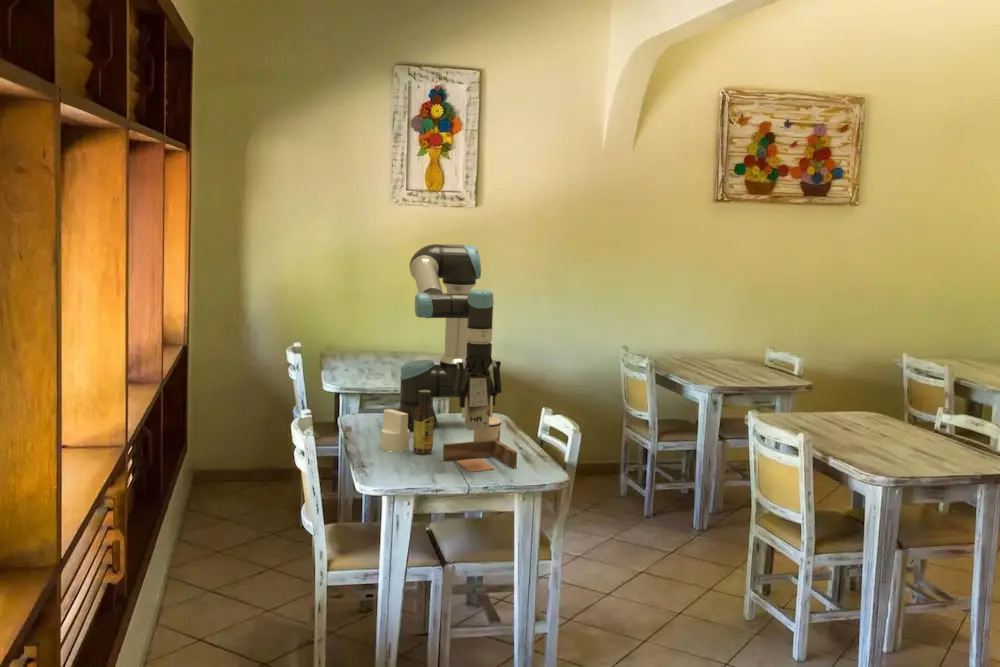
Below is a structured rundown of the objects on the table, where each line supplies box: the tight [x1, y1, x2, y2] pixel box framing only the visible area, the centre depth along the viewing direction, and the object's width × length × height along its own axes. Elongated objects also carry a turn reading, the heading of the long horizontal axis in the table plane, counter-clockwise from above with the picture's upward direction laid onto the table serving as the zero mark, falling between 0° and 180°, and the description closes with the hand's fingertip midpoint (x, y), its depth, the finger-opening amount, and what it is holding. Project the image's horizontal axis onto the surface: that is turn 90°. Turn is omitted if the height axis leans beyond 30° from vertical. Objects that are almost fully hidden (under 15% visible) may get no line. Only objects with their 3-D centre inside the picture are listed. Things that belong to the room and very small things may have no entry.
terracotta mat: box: [455, 458, 496, 473], centre depth 270 cm, size 11×8×1 cm
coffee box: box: [464, 373, 492, 432], centre depth 267 cm, size 9×6×16 cm
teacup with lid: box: [473, 415, 502, 442], centre depth 291 cm, size 12×9×12 cm
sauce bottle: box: [412, 390, 434, 455], centre depth 281 cm, size 6×6×20 cm
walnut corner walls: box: [442, 440, 518, 469], centre depth 271 cm, size 15×18×5 cm
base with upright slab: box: [380, 408, 410, 453], centre depth 285 cm, size 9×9×12 cm
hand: (477, 417), depth 267 cm, fingers closed on coffee box, 7 cm apart
